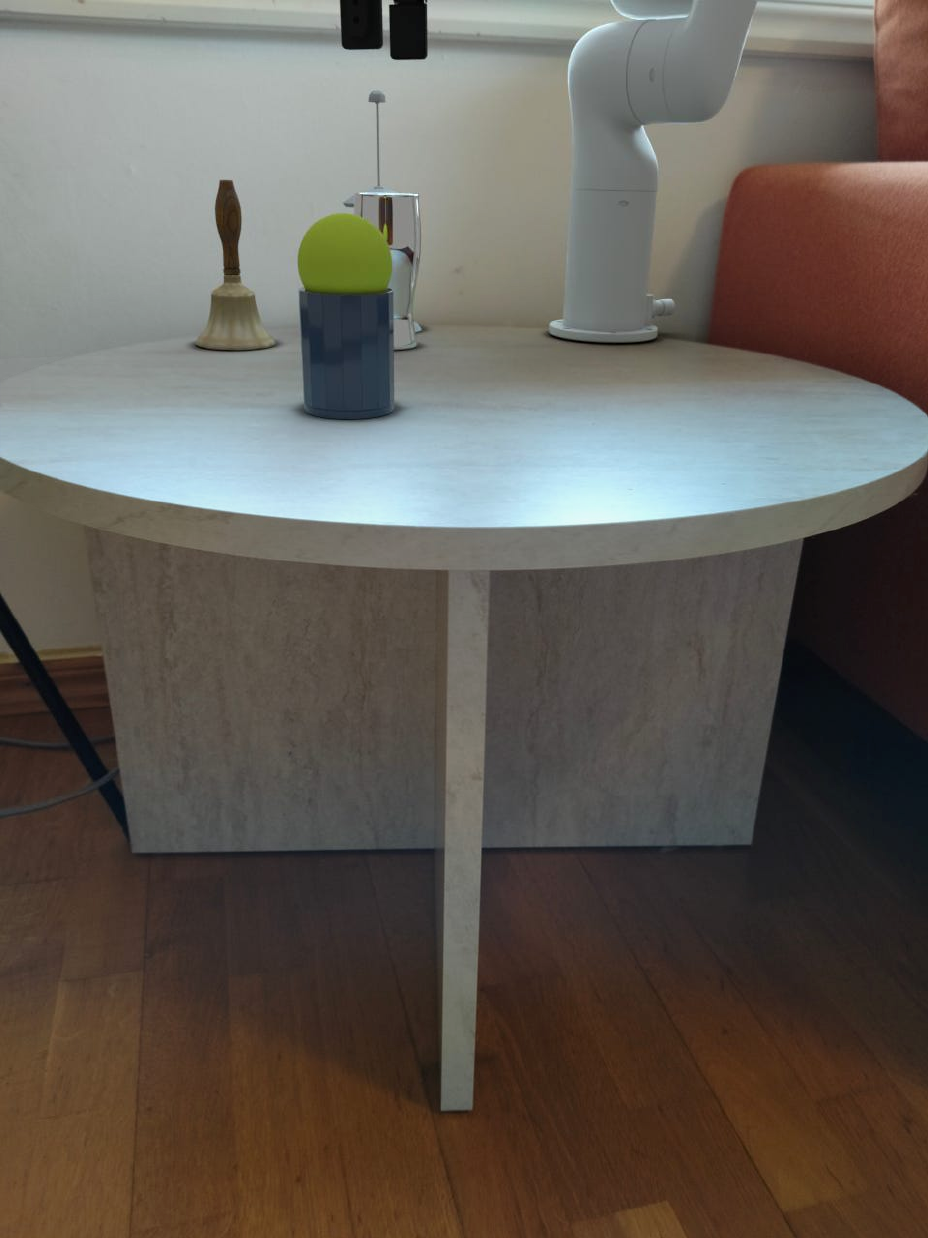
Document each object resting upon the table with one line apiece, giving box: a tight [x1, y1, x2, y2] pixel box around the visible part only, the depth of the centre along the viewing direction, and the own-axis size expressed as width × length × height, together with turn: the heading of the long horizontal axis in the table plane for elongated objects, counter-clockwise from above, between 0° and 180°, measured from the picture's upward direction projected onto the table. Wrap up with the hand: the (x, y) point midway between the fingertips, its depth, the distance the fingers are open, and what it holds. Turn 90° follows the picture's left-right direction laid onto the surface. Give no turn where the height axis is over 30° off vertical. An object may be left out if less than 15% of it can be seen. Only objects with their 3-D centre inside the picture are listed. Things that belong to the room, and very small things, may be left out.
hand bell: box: [195, 179, 277, 351], centre depth 101 cm, size 8×8×16 cm
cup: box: [297, 286, 395, 420], centre depth 76 cm, size 7×7×9 cm
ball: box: [297, 212, 392, 294], centre depth 73 cm, size 7×7×7 cm
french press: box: [342, 89, 422, 333], centre depth 112 cm, size 10×12×25 cm
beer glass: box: [353, 192, 422, 351], centre depth 102 cm, size 7×7×15 cm
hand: (386, 54), depth 79 cm, fingers open, 9 cm apart
